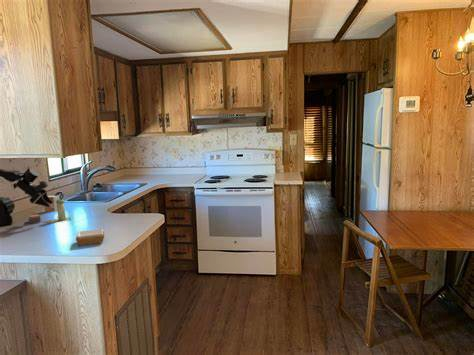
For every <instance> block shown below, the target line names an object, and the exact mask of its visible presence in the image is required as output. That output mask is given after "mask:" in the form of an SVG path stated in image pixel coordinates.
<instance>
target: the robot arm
mask: <svg viewBox="0 0 474 355" xmlns="http://www.w3.org/2000/svg"><path fill="white" fill-rule="evenodd" d="M0 177H1V178H3V179H5V180H6V181H8V182H9V183H13V184H12V185H13V190H15V189H16V188H19V189H20V190H21V191H22V192H24V194H25V195H28V196H30V198H29V202H30V203H31V204H35V205H40V206H43V207H45V206H47V207H49V206H50V205H49V204H48V203H50V204H52V203H53V202H52V201H51V200H50V198H49V197H48V196H49V195H48V190H47V189H46V188H48V187H49V184H47V183H48V182H46V181H43V180H42V181H40V182H39V184H32V183H33V182H35V181H36V179H37V178H39V177H40V173H39V172H38V171H37V170H36V169H32V168H31V167H28V168H27V169H26V170H25V172H22V171H20V170H9V169H4V168H3V169H2V168H0ZM14 182H15V183H14ZM15 206H16V205H15V203H14V201H13V200H12V199H11V198H10V197H9V196H7V197H3V196H2V195H1V194H0V227H6V226H11V225H12V224H13V223H14V220H13V215H12V214H13V213H14V210H15Z"/></svg>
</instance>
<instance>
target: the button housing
mask: <svg viewBox="0 0 474 355" xmlns="http://www.w3.org/2000/svg"><path fill="white" fill-rule="evenodd" d="M37 215H38V216H39V217H37V218H30V216H28V224H35V223H41V222H42V218H41V215H39V214H37Z"/></svg>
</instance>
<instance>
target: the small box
mask: <svg viewBox="0 0 474 355" xmlns="http://www.w3.org/2000/svg"><path fill="white" fill-rule="evenodd" d="M47 196H48V197H49V198H50V200H51V201H52V202H53V203H52V204H50V203H48V204H49V205H50V206H49V207H47V206H44V212H45V213H53V212H58V211H57V203H56V200H60V195H47Z"/></svg>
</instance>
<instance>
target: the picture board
mask: <svg viewBox="0 0 474 355" xmlns="http://www.w3.org/2000/svg"><path fill="white" fill-rule="evenodd" d="M68 221H69V222H70V221H72V219H71V216H68V217H67V216H66V220H58V216H56V218H54V219H49V220H44V221H41V222H42V223H43V224H50V223H51V224H52V223H62V222H68Z"/></svg>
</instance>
